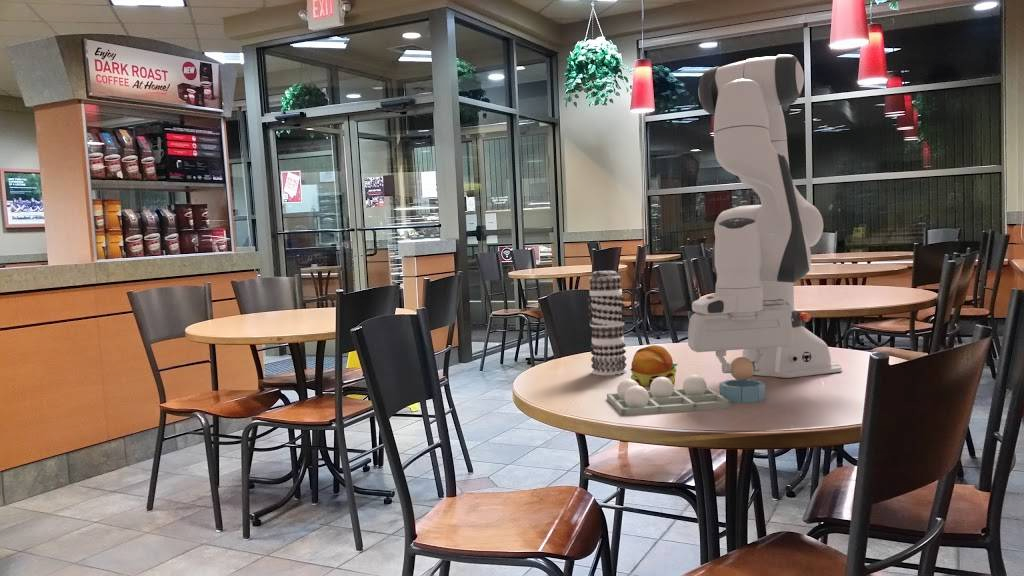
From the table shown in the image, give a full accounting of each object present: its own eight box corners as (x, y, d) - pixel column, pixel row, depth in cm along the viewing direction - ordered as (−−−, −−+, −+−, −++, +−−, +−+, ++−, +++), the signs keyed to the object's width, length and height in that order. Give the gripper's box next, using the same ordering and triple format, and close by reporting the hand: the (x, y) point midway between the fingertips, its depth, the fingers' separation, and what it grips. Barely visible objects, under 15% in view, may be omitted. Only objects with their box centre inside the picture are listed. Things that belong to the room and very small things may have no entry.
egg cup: (755, 395, 154) (754, 377, 154) (772, 404, 146) (771, 385, 146) (714, 398, 154) (713, 380, 153) (729, 407, 145) (728, 388, 145)
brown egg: (749, 377, 152) (748, 354, 152) (758, 381, 147) (757, 358, 147) (726, 378, 152) (725, 356, 151) (734, 383, 147) (734, 359, 147)
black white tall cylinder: (589, 376, 184) (584, 273, 182) (591, 369, 193) (587, 270, 191) (627, 375, 182) (622, 271, 181) (628, 368, 191) (624, 269, 190)
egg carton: (707, 395, 156) (706, 370, 156) (732, 411, 142) (731, 383, 142) (607, 402, 155) (606, 376, 154) (622, 419, 141) (621, 390, 140)
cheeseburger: (680, 380, 173) (678, 339, 170) (675, 401, 163) (672, 358, 160) (636, 378, 176) (633, 339, 173) (628, 399, 167) (625, 358, 164)
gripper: (784, 297, 152) (786, 365, 153) (684, 303, 151) (686, 372, 152) (798, 299, 146) (800, 370, 147) (693, 306, 145) (696, 378, 146)
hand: (741, 371), depth 149 cm, fingers closed on brown egg, 4 cm apart
